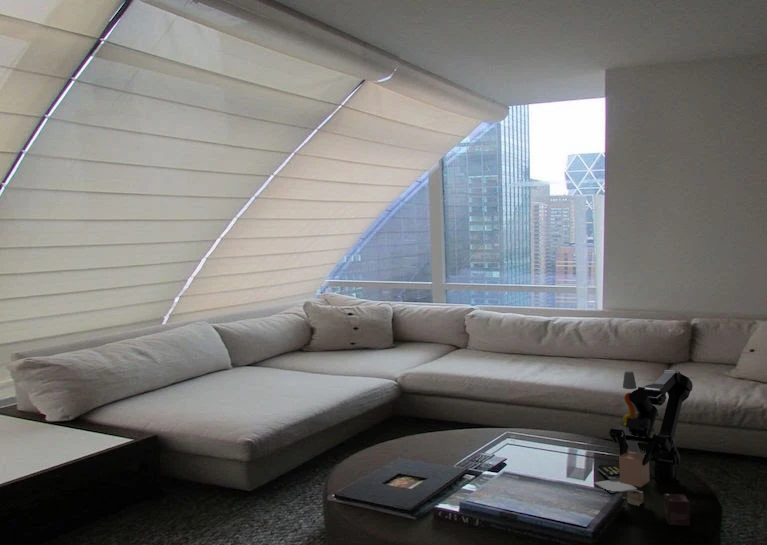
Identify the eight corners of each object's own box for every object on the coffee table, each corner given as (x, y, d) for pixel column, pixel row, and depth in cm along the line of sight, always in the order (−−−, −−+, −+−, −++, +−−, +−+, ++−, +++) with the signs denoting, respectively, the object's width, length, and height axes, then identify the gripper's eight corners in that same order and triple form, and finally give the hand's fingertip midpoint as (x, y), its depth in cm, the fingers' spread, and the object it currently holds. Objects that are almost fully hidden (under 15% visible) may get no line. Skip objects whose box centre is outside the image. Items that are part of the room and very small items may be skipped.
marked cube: (632, 500, 214) (631, 488, 214) (643, 502, 212) (642, 491, 212) (627, 503, 212) (627, 492, 212) (638, 506, 209) (638, 494, 209)
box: (690, 526, 193) (689, 501, 193) (668, 525, 195) (667, 501, 194) (685, 517, 199) (684, 493, 199) (664, 516, 201) (663, 493, 200)
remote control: (613, 468, 243) (613, 463, 243) (627, 479, 230) (626, 473, 230) (596, 469, 243) (596, 464, 243) (609, 480, 230) (609, 474, 230)
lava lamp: (629, 457, 254) (626, 367, 252) (650, 463, 246) (647, 371, 245) (614, 462, 249) (611, 371, 248) (634, 469, 242) (631, 374, 240)
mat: (619, 479, 232) (619, 478, 232) (637, 489, 222) (637, 488, 222) (594, 483, 229) (594, 482, 229) (611, 494, 220) (611, 492, 220)
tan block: (628, 476, 216) (628, 450, 216) (649, 480, 212) (648, 454, 211) (619, 482, 211) (619, 456, 211) (640, 487, 207) (640, 460, 206)
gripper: (609, 403, 220) (595, 444, 212) (666, 411, 207) (653, 455, 199) (620, 421, 226) (607, 461, 218) (676, 430, 213) (664, 473, 205)
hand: (632, 462), depth 210 cm, fingers closed on tan block, 7 cm apart
